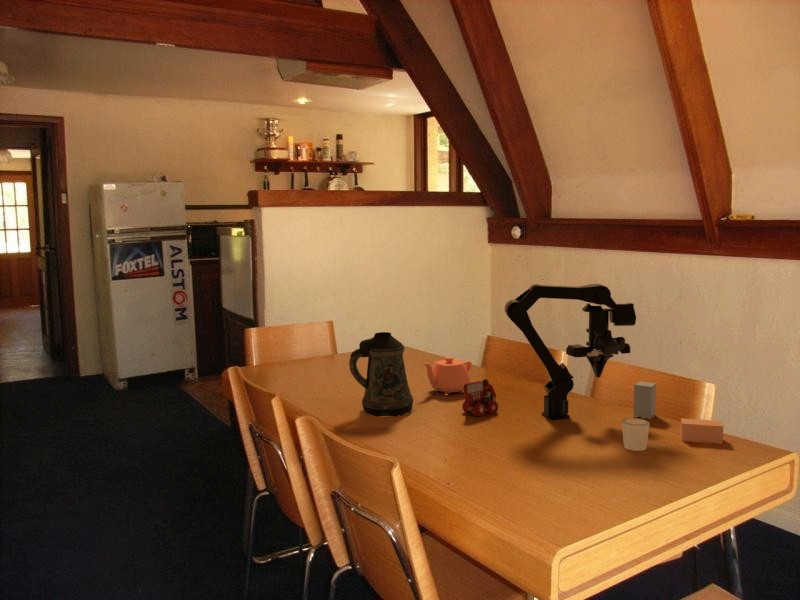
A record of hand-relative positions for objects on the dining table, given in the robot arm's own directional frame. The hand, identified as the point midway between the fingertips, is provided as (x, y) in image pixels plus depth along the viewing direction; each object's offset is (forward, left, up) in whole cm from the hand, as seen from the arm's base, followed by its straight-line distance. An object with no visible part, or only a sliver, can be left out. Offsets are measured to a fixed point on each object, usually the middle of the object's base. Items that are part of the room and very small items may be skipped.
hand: (598, 377), depth 205 cm
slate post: (+13, -5, -12) cm, 18 cm away
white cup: (-6, -28, -12) cm, 31 cm away
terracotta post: (+10, -26, -10) cm, 29 cm away
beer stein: (-60, +27, -12) cm, 67 cm away
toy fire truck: (-32, +15, -12) cm, 38 cm away
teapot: (-33, +43, -12) cm, 56 cm away
